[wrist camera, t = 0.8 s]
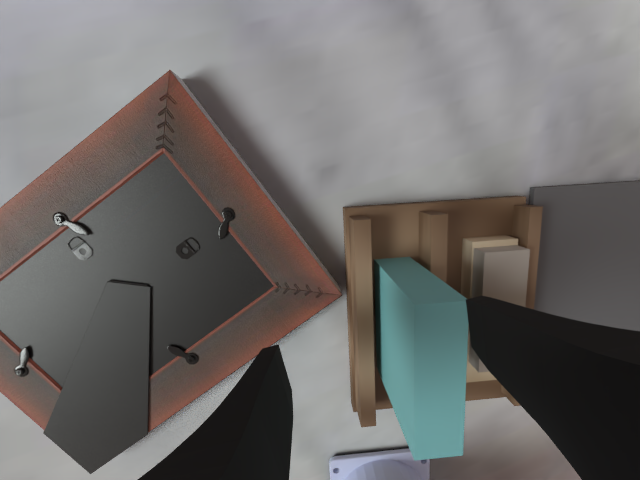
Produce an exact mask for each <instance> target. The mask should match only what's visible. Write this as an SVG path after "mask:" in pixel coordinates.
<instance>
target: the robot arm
mask: <svg viewBox="0 0 640 480" xmlns="http://www.w3.org/2000/svg"><path fill="white" fill-rule="evenodd" d="M466 306H467V315H468V323H469V331H470V340H471V347H472V348H473V350H474V351H475V353H476V354H477V356H478V357H479V359H480V360H481V361H482V363H483V364H484V365H485V367H486V368H487V369H488V371H489V372H490V373H491V374H492V375H493V376H494V377H495V378H496V379H497V380H498V382H499V383H500V384H501V385H502V386H503V387H504V388H505V389H506V390H507V391H508V392H509V393H510V394H511V395H512V397H513V398H514V399H515V400H516V401H517V402H518V403H519V404H520V405H521V406H522V407H523V408H524V409H525V410H526V411H527V413H528V414H529V415H530V416H531V417H532V418H533V419H534V420H535V421H536V422H537V423H538V424H539V426H540V427H541V428H542V429H543V430H544V431H545V432H546V434H547V435H548V436H549V437H550V439H551V440H552V441H553V442H554V444H555V445H556V446H557V448H558V449H559V450H560V451H561V453H562V454H563V455H564V456H565V458H566V459H567V460H568V462H569V463H570V464H571V465H572V467H573V468H574V469H575V471H576V472H577V473H578V475H579V476H580V477H581V479H582V480H640V331H634V330H627V329H621V328H614V327H609V326H603V325H598V324H592V323H587V322H582V321H578V320H573V319H569V318H565V317H561V316H556V315H552V314H549V313H545V312H541V311H537V310H534V309H530V308H527V307H523V306H520V305H516V304H513V303H509V302H506V301H502V300H499V299H495V298H491V297H486V296H478V297H474V298H469V299H466ZM292 428H293V402H292V389H291V386H290V383H289V379H288V376H287V372H286V369H285V366H284V362H283V359H282V355H281V352H280V348H279V345H275V346H271V347H267V348H262V350H261V351H260V352H259V354H258V355H257V357H256V358H255V360H254V361H253V362H252V364H251V365H250V367H249V368H248V369H247V371H246V372H245V374H244V375H243V376H242V378H241V379H240V380H239V382H238V383H237V385H236V386H235V387H234V388H233V389H232V391H231V392H230V393H229V394H228V396H227V397H226V398H225V399H224V401H223V402H222V403H221V404H220V405H219V407H218V408H217V409H216V410H215V411H214V412H213V413H212V414H211V415H210V417H209V418H208V419H207V420H206V421H205V422H204V423H203V424H202V425H201V426H200V427H199V428H198V429H197V430H196V431H195V432H194V433H193V434H192V435H190V436H189V437H188V438H187V439H186V440H185V441H184V442H183V443H182V444H181V445H179V446H178V447H177V448H176V449H175V450H174V451H173V452H172V453H171V454H169V455H168V456H167V457H166V458H165V459H163V460H162V461H161V462H160V463H158V464H157V465H156V466H155V467H154V468H152V469H151V470H150V471H148V472H147V473H146V474H145V475H143V476H142V477H141V478H139V479H138V480H289V470H290V456H291V443H292ZM329 467H330V480H430V459H425V460H416V461H414V459H413V456H412V454H411V451H410V449H409V448H408V449H398V450H389V451H379V452H370V453H360V454H351V455H341V456H334V457H332V458H331V459H330V460H329ZM334 468H337V469H334Z"/></svg>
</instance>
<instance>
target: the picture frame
mask: <svg viewBox="0 0 640 480" xmlns="http://www.w3.org/2000/svg"><path fill="white" fill-rule="evenodd" d="M340 296H342V293H341V290H340V287H339V285H338V284H337V282H336V281H335V280H334V278H333V277H332V276H331V274H330V273H329V272H328V271H327V269H326V268H325V267H324V265H323V264H322V263H321V261H320V260H319V259H318V257H317V256H316V255H315V253H314V252H313V251H312V250H311V248H310V247H309V246H308V244H307V243H306V242H305V240H304V239H303V238H302V236H301V235H300V234H299V232H298V231H297V230H296V229H295V227H294V226H293V225H292V223H291V222H290V221H289V219H288V218H287V217H286V215H285V214H284V213H283V212H282V210H281V209H280V208H279V206H278V205H277V204H276V202H275V201H274V200H273V198H272V197H271V196H270V194H269V193H268V192H267V191H266V189H265V188H264V187H263V185H262V184H261V183H260V181H259V180H258V179H257V177H256V176H255V175H254V173H253V172H252V171H251V170H250V168H249V167H248V166H247V164H246V163H245V162H244V160H243V159H242V158H241V156H240V155H239V154H238V153H237V151H236V150H235V149H234V147H233V146H232V145H231V143H230V142H229V141H228V139H227V138H226V137H225V135H224V134H223V133H222V132H221V130H220V129H219V128H218V126H217V125H216V124H215V122H214V121H213V120H212V118H211V117H210V116H209V114H208V113H207V112H206V111H205V109H204V108H203V107H202V105H201V104H200V103H199V101H198V100H197V99H196V97H195V96H194V95H193V94H192V92H191V91H190V90H189V88H188V87H187V86H186V84H185V83H184V82H183V80H182V79H181V78H179V77H178V76H177V75H176V74H175V73H173V72H172V71H171V70H169V71H168V72H167V73H165V74H164V75H163V76H162V77H160V78H159V79H158V80H157V81H156V82H154V83H153V84H152V85H151V86H149V87H148V88H147V89H146V90H144V91H143V92H142V93H141V94H140V95H138V96H137V97H136V98H135V99H133V100H132V101H131V102H130V103H129V104H127V105H126V106H125V107H124V108H122V109H121V110H120V111H119V112H117V113H116V114H115V115H114V116H113V117H111V118H110V119H109V120H108V121H106V122H105V123H104V124H103V125H101V126H100V127H99V128H98V129H97V130H95V131H94V132H93V133H92V134H90V135H89V136H88V137H87V138H86V139H84V140H83V141H82V142H81V143H79V144H78V145H77V146H76V147H74V148H73V149H72V150H71V151H70V152H68V153H67V154H66V155H65V156H63V157H62V158H61V159H60V160H59V161H57V162H56V163H55V164H54V165H52V166H51V167H50V168H49V169H47V170H46V171H45V172H44V173H43V174H41V175H40V176H39V177H38V178H36V179H35V180H34V181H33V182H31V183H30V184H29V185H28V186H27V187H25V188H24V189H23V190H22V191H20V192H19V193H18V194H17V195H16V196H14V197H13V198H12V199H11V200H9V201H8V202H7V203H6V204H4V205H3V206H2V207H1V208H0V392H1V393H2V394H3V395H5V396H6V397H7V398H8V399H9V400H10V401H11V402H13V403H14V404H15V405H16V406H17V407H18V408H19V409H21V410H22V411H23V412H24V413H25V414H26V415H27V416H29V417H30V418H31V419H32V420H33V421H34V422H35V423H37V424H38V425H39V426H40V427H41V428H42V429H43V430H44V434H45V435H46V436H47V437H48V438H50V439H51V440H52V441H53V442H54V443H55V444H57V445H58V446H59V447H60V448H61V449H62V450H63V451H65V452H66V453H67V454H68V455H69V456H70V457H72V458H73V459H74V460H75V461H76V462H77V463H78V464H80V465H81V466H82V467H83V468H84V469H85V470H87V471H88V472H89V473H90V474H91V473H93V472H94V471H96V470H97V469H99V468H100V467H101V466H103V465H104V464H106V463H107V462H109V461H110V460H111V459H113V458H114V457H116V456H117V455H119V454H120V453H122V452H123V451H124V450H126V449H127V448H129V447H130V446H132V445H133V444H134V443H136V442H137V441H139V440H140V439H142V438H143V437H145V436H146V435H147V434H148V432H150V431H151V430H152V429H154V428H155V427H157V426H158V425H159V424H161V423H162V422H164V421H165V420H167V419H168V418H169V417H171V416H172V415H174V414H175V413H176V412H178V411H179V410H181V409H182V408H183V407H185V406H186V405H188V404H189V403H191V402H192V401H193V400H195V399H196V398H198V397H199V396H200V395H202V394H203V393H205V392H206V391H207V390H209V389H210V388H212V387H213V386H215V385H216V384H217V383H219V382H220V381H222V380H223V379H224V378H226V377H227V376H229V375H230V374H231V373H233V372H234V371H236V370H237V369H239V368H240V367H241V366H243V365H244V364H246V363H247V362H248V361H250V360H251V359H253V358H254V357H255V356H257V355H258V354H259V352H260V351H261V350H262V348H267V347H270V346H271V345H272V344H274V343H275V342H277V341H278V340H279V339H281V338H282V337H284V336H285V335H287V334H288V333H289V332H291V331H292V330H294V329H295V328H296V327H298V326H299V325H301V324H302V323H303V322H305V321H306V320H308V319H309V318H311V317H312V316H313V315H315V314H316V313H318V312H319V311H320V310H322V309H323V308H325V307H326V306H327V305H329V304H330V303H332V302H333V301H335V300H336V299H337V298H339V297H340Z"/></svg>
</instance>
